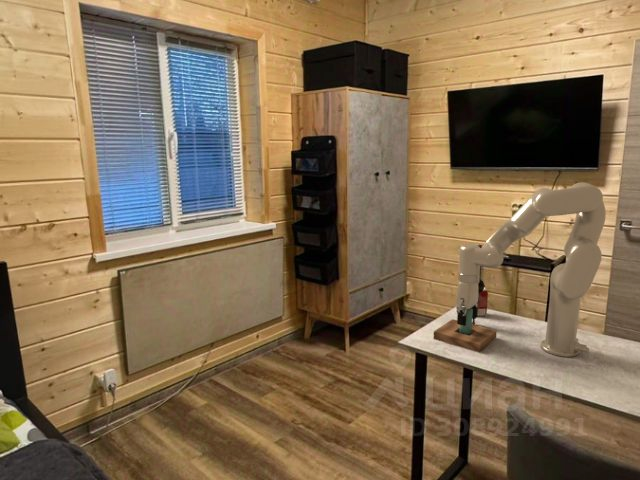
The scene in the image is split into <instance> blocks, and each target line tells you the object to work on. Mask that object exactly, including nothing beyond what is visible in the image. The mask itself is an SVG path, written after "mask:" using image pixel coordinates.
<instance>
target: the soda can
mask: <svg viewBox="0 0 640 480" xmlns="http://www.w3.org/2000/svg"><path fill="white" fill-rule="evenodd" d="M488 297H489V291H488V289H487V288H486V287H485V288H484V290H483V291H482V292H481V293H480V295H479V305H478V315H477V318H478V317H480V318H483V317H485V316H487V314H488Z"/></svg>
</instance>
